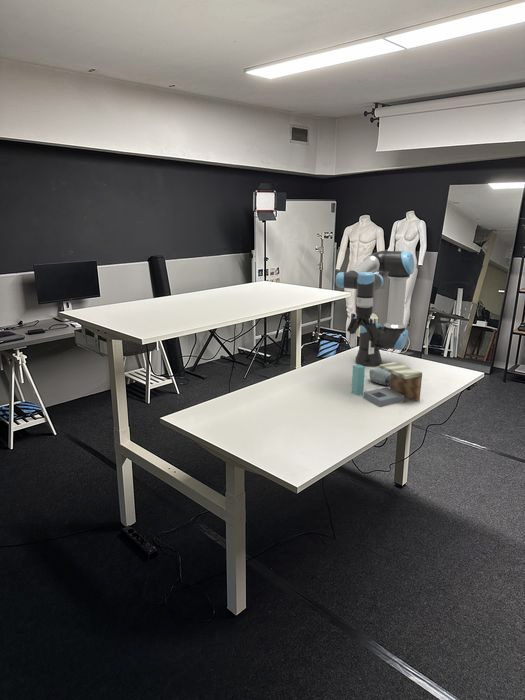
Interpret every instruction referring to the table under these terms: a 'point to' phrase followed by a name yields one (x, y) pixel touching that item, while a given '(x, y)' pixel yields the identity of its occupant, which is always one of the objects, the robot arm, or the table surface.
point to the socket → (383, 396)
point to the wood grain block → (404, 380)
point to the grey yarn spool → (380, 376)
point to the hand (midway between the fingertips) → (361, 350)
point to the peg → (358, 379)
